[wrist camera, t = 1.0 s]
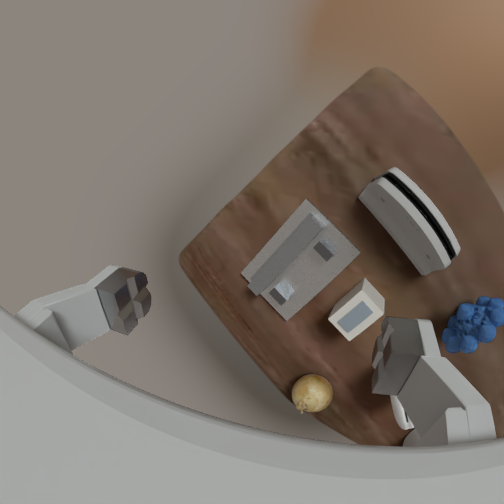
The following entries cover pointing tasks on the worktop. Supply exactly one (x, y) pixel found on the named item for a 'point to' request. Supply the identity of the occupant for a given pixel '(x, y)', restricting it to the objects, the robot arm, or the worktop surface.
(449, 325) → the grapes
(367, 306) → the block
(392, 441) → the worktop surface
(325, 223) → the rail base
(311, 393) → the onion
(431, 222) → the white toaster
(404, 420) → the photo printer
